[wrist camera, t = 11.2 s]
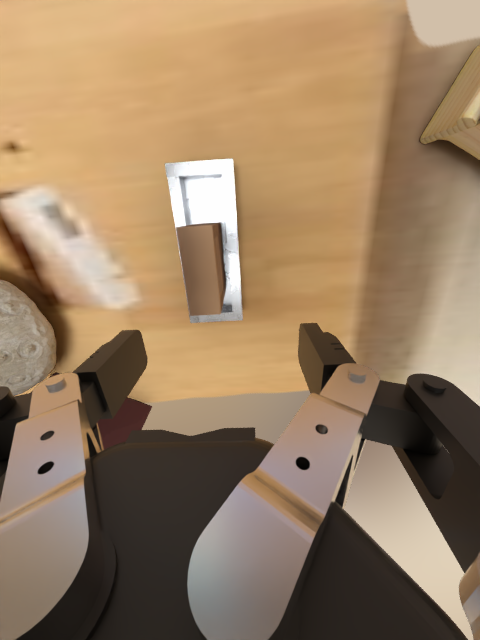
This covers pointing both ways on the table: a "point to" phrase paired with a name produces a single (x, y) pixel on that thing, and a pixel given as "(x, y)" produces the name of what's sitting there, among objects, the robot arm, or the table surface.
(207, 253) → the door panel
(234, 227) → the tray
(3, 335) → the decorative shell
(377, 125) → the table surface
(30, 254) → the table surface
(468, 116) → the toy sofa
